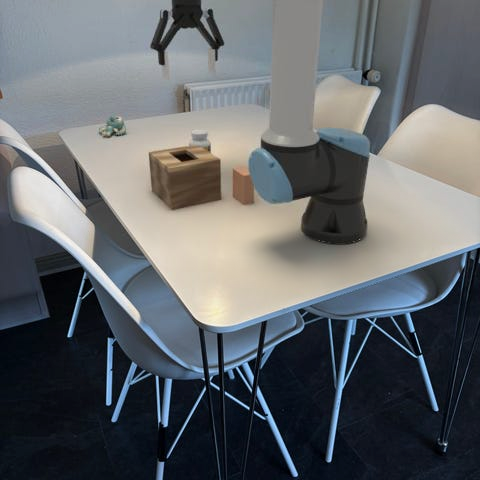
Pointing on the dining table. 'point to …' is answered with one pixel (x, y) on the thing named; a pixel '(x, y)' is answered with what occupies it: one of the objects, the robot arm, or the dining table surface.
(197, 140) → the pill bottle
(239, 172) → the salmon orange block
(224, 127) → the dining table surface
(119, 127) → the stuffed animal
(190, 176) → the coin box
